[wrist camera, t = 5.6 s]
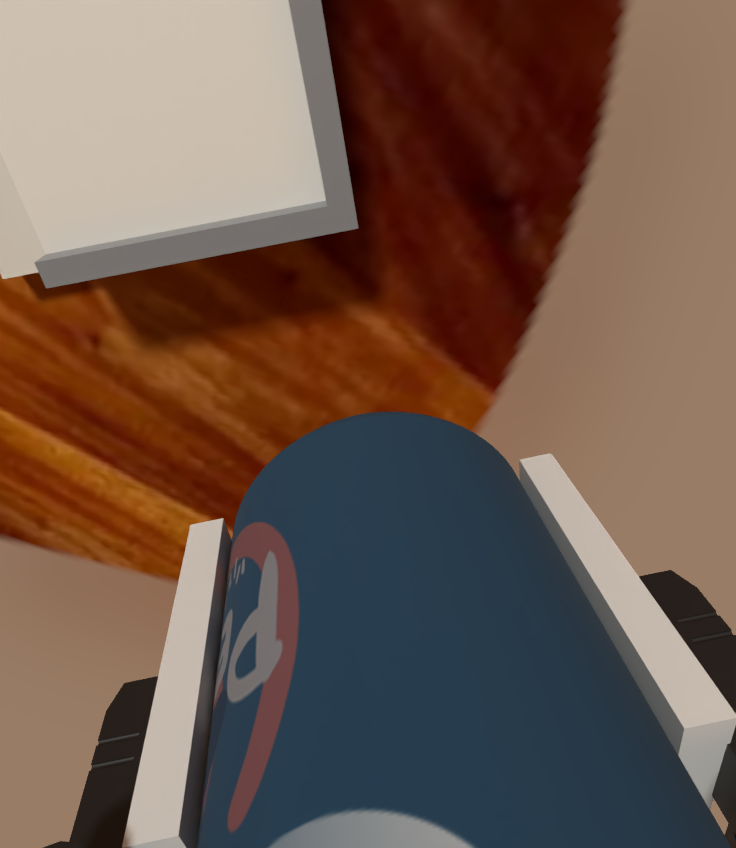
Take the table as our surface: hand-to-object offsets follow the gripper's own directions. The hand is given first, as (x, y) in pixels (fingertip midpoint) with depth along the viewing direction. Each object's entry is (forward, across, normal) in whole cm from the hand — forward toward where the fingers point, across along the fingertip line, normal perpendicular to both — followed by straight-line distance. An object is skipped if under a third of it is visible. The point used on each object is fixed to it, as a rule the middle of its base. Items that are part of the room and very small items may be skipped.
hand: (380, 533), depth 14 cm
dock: (+17, -6, +10) cm, 21 cm away
